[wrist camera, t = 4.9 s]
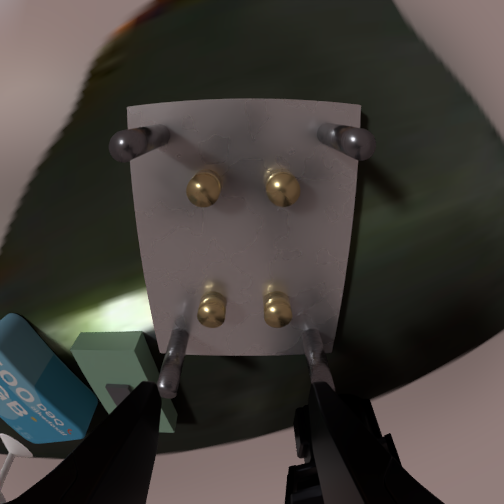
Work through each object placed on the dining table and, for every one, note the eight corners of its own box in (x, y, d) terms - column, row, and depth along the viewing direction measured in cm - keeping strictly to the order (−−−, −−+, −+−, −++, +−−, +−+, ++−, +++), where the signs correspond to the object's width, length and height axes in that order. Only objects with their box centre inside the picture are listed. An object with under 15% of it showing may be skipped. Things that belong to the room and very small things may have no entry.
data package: (-47, 368, 19) (-12, 338, 17) (-26, 342, 23) (16, 306, 21) (31, 445, 23) (91, 438, 21) (44, 416, 28) (105, 402, 25)
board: (143, 327, 22) (132, 354, 19) (178, 411, 26) (173, 436, 23) (82, 329, 22) (68, 352, 19) (125, 409, 26) (117, 432, 24)
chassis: (354, 105, 15) (404, 105, 10) (329, 343, 22) (347, 407, 17) (133, 107, 15) (81, 108, 10) (162, 344, 22) (143, 407, 17)
